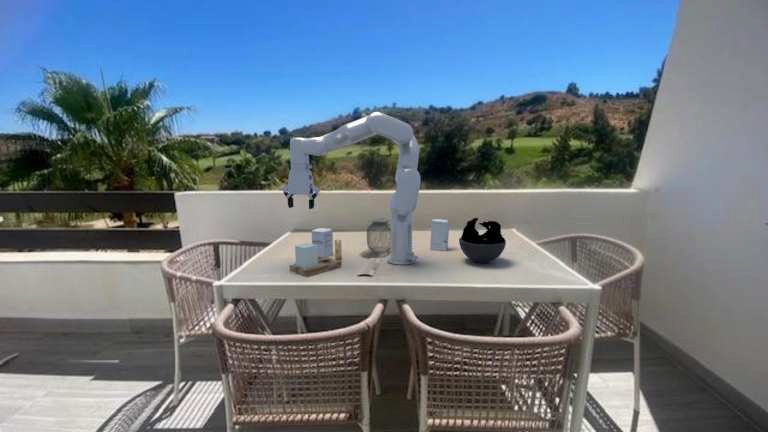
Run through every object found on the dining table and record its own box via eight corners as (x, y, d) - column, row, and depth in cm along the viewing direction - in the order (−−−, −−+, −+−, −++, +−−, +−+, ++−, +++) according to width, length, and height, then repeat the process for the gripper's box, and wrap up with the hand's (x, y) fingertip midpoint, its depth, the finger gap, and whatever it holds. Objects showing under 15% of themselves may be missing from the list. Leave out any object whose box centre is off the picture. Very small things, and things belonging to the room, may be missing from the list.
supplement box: (311, 256, 183) (310, 230, 181) (321, 252, 189) (320, 227, 187) (324, 258, 180) (323, 231, 177) (333, 254, 186) (332, 228, 184)
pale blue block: (317, 265, 160) (317, 245, 159) (305, 269, 155) (304, 248, 154) (308, 262, 164) (308, 242, 163) (295, 265, 160) (295, 245, 158)
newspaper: (368, 261, 177) (368, 257, 176) (384, 261, 176) (383, 258, 175) (357, 277, 154) (357, 273, 153) (375, 278, 153) (375, 274, 152)
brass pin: (343, 259, 177) (342, 240, 176) (338, 260, 175) (337, 241, 174) (338, 258, 179) (338, 239, 178) (333, 259, 177) (333, 240, 176)
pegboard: (341, 267, 166) (341, 246, 164) (306, 277, 153) (305, 254, 152) (324, 261, 174) (323, 242, 173) (289, 270, 161) (288, 249, 160)
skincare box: (429, 249, 193) (430, 220, 191) (432, 247, 199) (433, 218, 196) (446, 251, 190) (447, 221, 188) (449, 248, 196) (449, 219, 194)
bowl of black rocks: (507, 269, 160) (509, 225, 157) (458, 267, 164) (459, 223, 161) (502, 256, 180) (504, 216, 176) (458, 254, 184) (459, 215, 180)
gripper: (322, 167, 163) (323, 207, 166) (286, 166, 168) (287, 205, 171) (314, 168, 156) (315, 210, 159) (276, 167, 161) (278, 208, 164)
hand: (301, 208), depth 165 cm, fingers open, 9 cm apart
